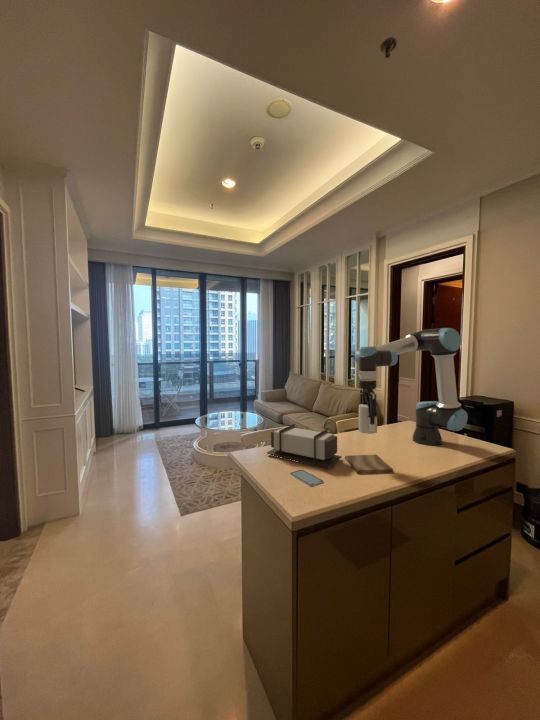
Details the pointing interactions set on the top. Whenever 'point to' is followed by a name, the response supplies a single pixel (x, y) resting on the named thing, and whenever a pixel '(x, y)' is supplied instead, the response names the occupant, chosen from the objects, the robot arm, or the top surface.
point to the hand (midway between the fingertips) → (367, 428)
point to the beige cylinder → (365, 419)
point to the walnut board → (368, 464)
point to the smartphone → (306, 478)
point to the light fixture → (305, 446)
